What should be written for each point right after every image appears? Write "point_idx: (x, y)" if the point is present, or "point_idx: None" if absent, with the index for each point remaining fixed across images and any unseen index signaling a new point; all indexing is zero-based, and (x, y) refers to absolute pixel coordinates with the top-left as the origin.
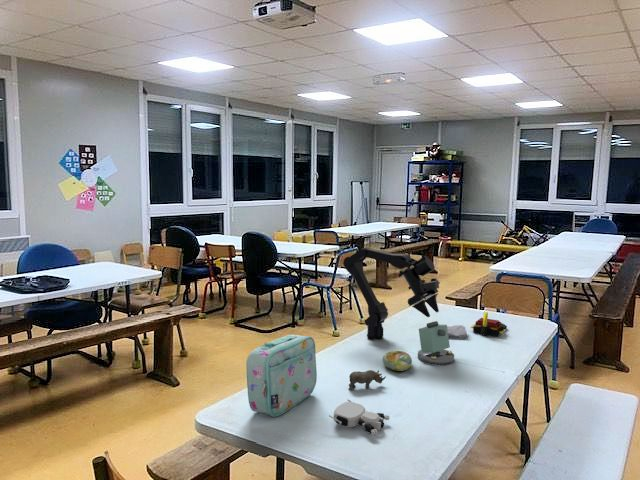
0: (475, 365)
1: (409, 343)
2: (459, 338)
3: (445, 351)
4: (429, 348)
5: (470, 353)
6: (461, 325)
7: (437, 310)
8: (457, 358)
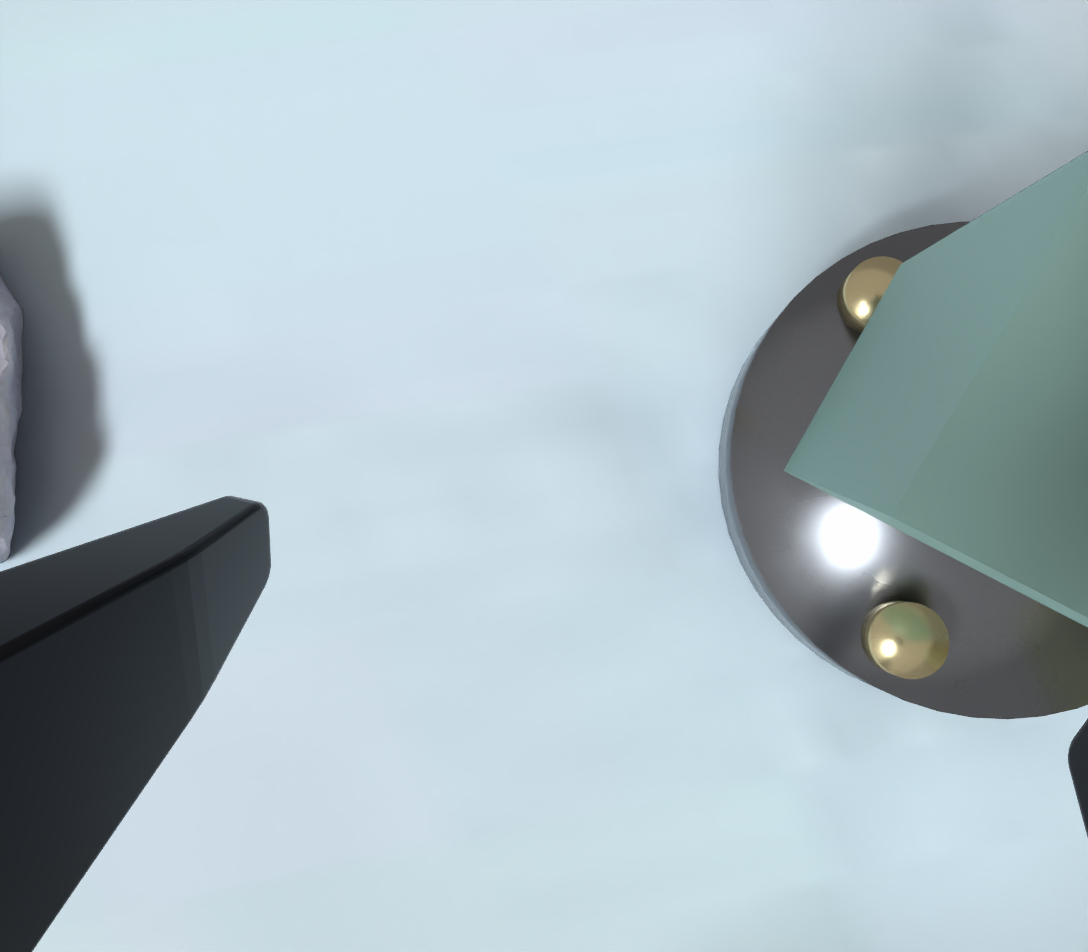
0: (948, 9)
1: (478, 934)
2: (20, 320)
3: (816, 359)
4: None
5: (552, 116)
6: None
7: (238, 547)
8: (804, 228)
